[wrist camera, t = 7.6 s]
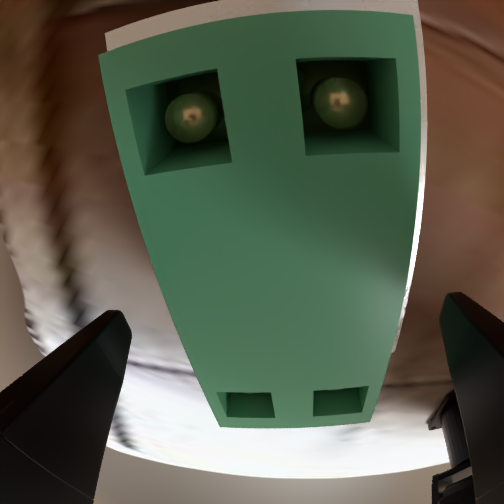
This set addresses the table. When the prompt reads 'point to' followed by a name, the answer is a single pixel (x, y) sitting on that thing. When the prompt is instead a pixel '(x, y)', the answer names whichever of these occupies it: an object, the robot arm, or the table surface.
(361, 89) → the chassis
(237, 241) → the board
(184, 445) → the table surface
